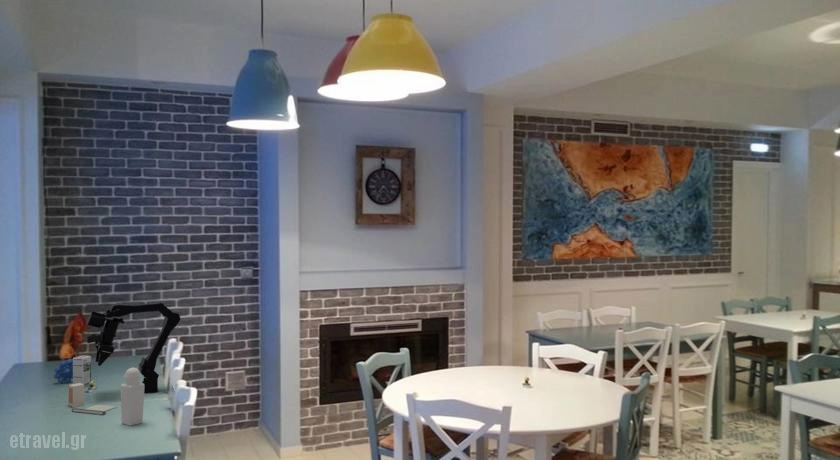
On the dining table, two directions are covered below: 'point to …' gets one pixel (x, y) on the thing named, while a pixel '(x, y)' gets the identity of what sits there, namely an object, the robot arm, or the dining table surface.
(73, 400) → the carton
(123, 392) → the grey bottle
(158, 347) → the robot arm
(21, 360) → the dining table surface
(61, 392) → the dining table surface
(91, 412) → the rail
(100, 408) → the pad
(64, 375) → the grapes
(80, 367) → the syrup box
